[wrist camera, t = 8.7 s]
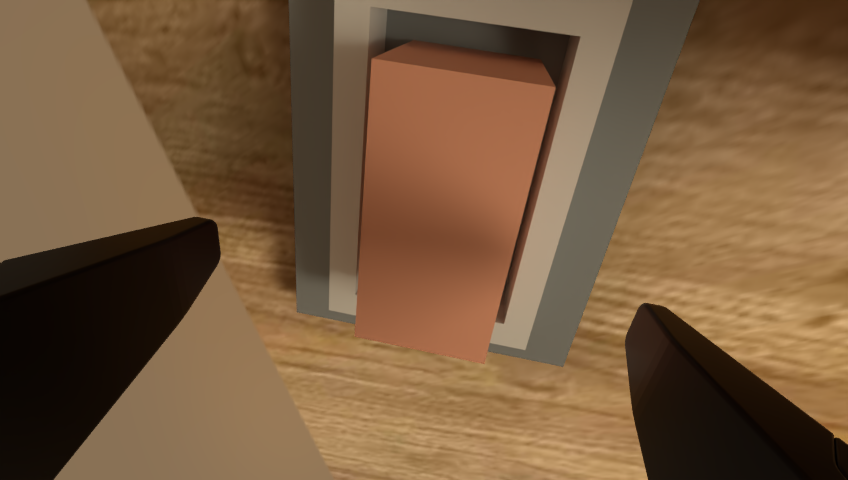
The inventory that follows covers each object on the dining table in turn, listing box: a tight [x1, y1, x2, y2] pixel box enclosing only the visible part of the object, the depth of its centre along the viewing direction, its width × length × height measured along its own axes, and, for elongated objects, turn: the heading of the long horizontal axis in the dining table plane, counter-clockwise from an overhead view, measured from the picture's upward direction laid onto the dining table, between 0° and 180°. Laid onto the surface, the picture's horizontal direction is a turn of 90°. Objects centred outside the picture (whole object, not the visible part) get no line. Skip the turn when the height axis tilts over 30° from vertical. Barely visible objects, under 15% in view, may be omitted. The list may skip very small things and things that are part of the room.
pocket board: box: [289, 0, 700, 367], centre depth 16 cm, size 16×12×4 cm
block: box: [355, 40, 556, 364], centre depth 14 cm, size 8×4×5 cm, turn 173°
